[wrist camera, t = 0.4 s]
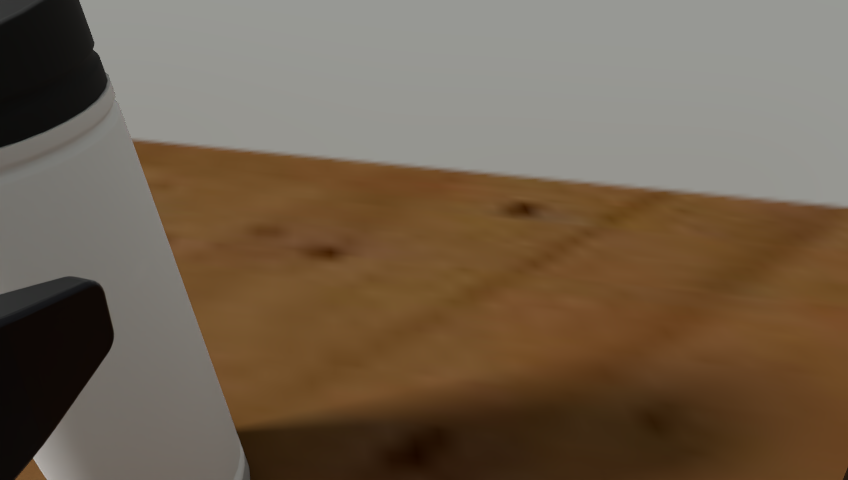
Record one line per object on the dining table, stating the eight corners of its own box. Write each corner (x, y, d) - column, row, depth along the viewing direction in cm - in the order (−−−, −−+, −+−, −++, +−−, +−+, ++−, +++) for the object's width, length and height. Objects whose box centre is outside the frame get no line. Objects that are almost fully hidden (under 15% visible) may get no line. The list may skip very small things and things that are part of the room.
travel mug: (268, 426, 30) (110, -72, 18) (229, 575, 24) (-30, 2, 13) (128, 430, 30) (-113, -53, 19) (59, 578, 25) (-339, 26, 13)
